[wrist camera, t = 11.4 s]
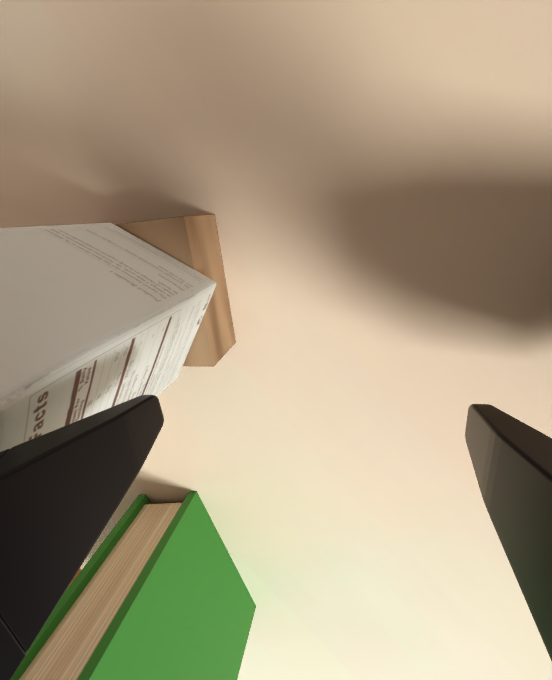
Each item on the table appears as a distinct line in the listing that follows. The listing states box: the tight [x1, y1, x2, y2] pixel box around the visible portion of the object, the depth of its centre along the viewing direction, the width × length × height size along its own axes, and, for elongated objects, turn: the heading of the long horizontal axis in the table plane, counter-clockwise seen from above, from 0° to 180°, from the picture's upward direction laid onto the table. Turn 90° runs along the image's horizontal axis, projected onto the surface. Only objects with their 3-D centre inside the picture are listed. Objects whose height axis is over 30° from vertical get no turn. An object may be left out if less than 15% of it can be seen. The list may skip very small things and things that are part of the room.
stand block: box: [116, 214, 236, 367], centre depth 21 cm, size 9×9×4 cm
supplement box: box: [0, 222, 216, 452], centre depth 14 cm, size 7×7×13 cm
